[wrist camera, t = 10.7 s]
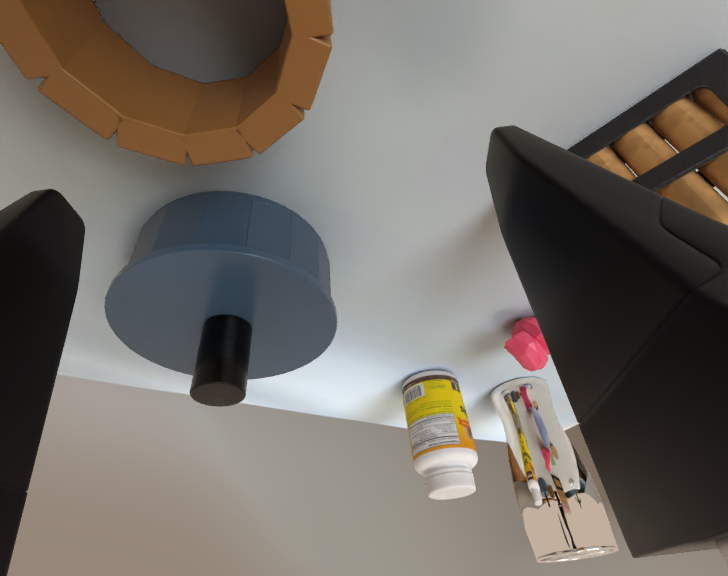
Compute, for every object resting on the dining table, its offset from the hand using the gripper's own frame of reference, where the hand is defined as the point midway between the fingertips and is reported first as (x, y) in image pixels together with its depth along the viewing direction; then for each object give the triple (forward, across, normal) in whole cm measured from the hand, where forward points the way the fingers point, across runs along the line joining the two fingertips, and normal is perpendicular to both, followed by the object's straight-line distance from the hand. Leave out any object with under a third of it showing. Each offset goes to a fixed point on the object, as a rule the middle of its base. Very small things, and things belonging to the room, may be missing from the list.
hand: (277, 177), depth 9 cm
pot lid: (+6, +6, +13) cm, 16 cm away
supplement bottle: (+11, -6, +33) cm, 35 cm away
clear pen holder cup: (+11, -16, +37) cm, 42 cm away
